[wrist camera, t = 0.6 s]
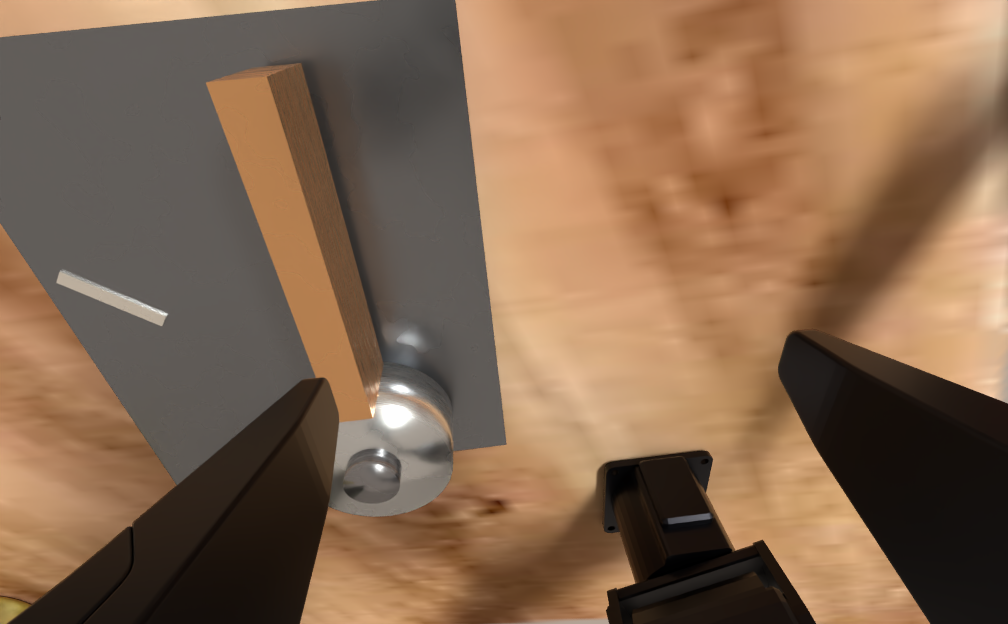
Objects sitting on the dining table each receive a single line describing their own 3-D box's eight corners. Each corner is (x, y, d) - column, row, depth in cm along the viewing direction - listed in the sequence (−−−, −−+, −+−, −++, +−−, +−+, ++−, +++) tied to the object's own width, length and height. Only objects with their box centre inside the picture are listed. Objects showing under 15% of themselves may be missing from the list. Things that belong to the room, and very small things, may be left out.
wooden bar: (461, 455, 27) (462, 525, 23) (332, 471, 27) (313, 543, 23) (385, 53, 16) (366, 67, 13) (172, 75, 16) (92, 95, 13)
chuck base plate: (505, 433, 28) (506, 445, 27) (183, 473, 27) (176, 486, 27) (454, -7, 17) (454, -8, 16) (-94, 47, 16) (-120, 49, 15)
